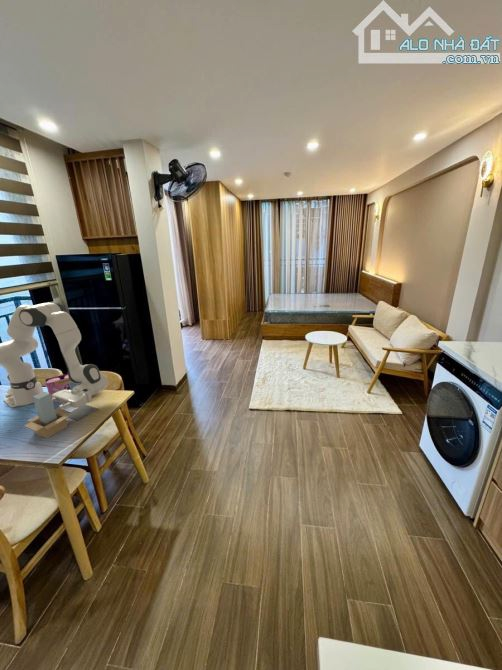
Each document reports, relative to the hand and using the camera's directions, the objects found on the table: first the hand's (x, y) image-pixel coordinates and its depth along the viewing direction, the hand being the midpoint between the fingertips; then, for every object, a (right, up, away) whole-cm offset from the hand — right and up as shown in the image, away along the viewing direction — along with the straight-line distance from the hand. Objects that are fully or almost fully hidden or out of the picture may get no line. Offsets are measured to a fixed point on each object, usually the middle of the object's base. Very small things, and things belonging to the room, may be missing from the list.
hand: (53, 406), depth 130 cm
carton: (-1, -12, 0) cm, 12 cm away
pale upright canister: (-1, -12, 0) cm, 12 cm away
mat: (+5, -8, +14) cm, 17 cm away
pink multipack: (-14, -2, +34) cm, 36 cm away
